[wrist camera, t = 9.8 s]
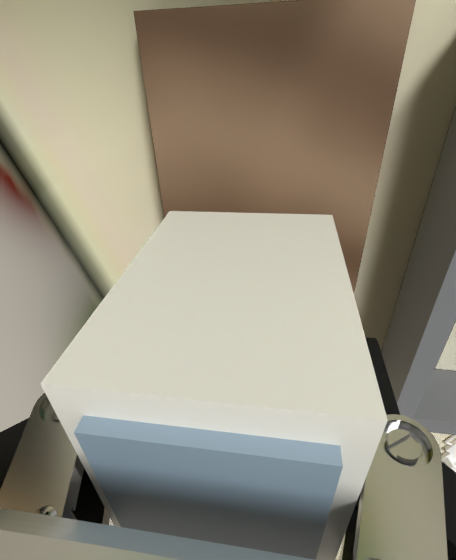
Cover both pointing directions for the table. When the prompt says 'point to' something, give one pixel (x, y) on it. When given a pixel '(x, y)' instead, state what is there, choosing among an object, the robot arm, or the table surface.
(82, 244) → the table surface
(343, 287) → the label box
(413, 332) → the parts bin
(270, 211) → the walnut board
